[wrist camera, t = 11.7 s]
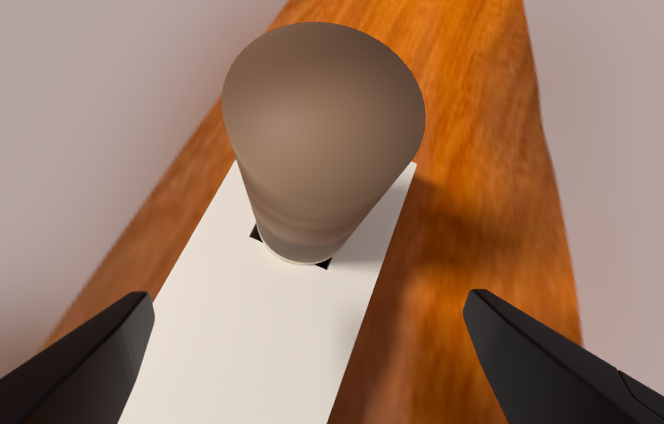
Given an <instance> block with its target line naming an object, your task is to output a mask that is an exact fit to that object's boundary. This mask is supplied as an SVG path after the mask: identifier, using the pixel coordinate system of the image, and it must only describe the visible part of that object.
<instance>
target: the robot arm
mask: <svg viewBox="0 0 664 424" xmlns="http://www.w3.org/2000/svg"><path fill="white" fill-rule="evenodd" d="M463 318H464V321H465V323H466V326H467V329H468V331H469V334H470V337H471V340H472V342H473V345H474V348H475V351H476V353H477V356H478V359H479V361H480V364H481V366H482V368H483V371H484V373H485V375H486V377H487V379H488V381H489V383H490V385H491V387H492V389H493V392H494V394H495V396H496V398H497V400H498V402H499V404H500V406H501V408H502V410H503V412H504V414H505V416H506V418H507V421H508V423H509V424H664V396H662V395H660V394H658V393H657V392H655V391H654V390H652V389H650V388H649V387H647V386H645V385H643V384H642V383H640V382H638V381H637V380H635V379H633V378H632V377H630V376H628V375H627V374H625V373H624V372H622V371H620V370H617V369H616V368H615V367H613V366H612V365H610V364H609V363H607V362H605V361H604V360H602V359H600V358H598V357H597V356H595V355H594V354H592V353H590V352H588V351H587V350H585V349H584V348H582V347H580V346H579V345H577V344H575V343H574V342H572V341H570V340H569V339H567V338H565V337H564V336H562V335H560V334H559V333H557V332H556V331H554V330H552V329H551V328H549V327H547V326H546V325H544V324H542V323H541V322H539V321H537V320H536V319H534V318H532V317H531V316H529V315H527V314H526V313H524V312H522V311H521V310H519V309H517V308H516V307H514V306H512V305H511V304H509V303H507V302H506V301H504V300H503V299H501V298H499V297H498V296H496V295H494V294H493V293H491V292H489V291H488V290H486V289H472V290H471V291H470V292H469V294H468V297H467V300H466V302H465V305H464V308H463ZM154 322H155V313H154V308H153V304H152V299H151V295H150V293H149V292H147V291H134V292H130V293H129V294H127V295H125V296H124V297H122V298H121V299H119V300H118V301H116V302H115V303H113V304H112V305H110V306H109V307H107V308H106V309H104V310H103V311H101V312H100V313H98V314H97V315H95V316H94V317H92V318H91V319H89V320H88V321H86V322H85V323H83V324H82V325H80V326H79V327H77V328H76V329H74V330H73V331H71V332H70V333H68V334H67V335H65V336H64V337H62V338H61V339H59V340H58V341H56V342H55V343H53V344H52V345H50V346H49V347H47V348H46V349H44V350H43V351H41V352H40V353H38V354H37V355H35V356H34V357H32V358H31V359H29V360H28V361H26V362H25V363H23V364H22V365H20V366H19V367H17V368H16V369H14V370H13V371H11V372H10V373H8V374H7V375H5V376H4V377H2V378H1V379H0V424H118V422H119V419H120V417H121V415H122V413H123V410H124V408H125V406H126V403H127V401H128V399H129V397H130V394H131V392H132V390H133V387H134V385H135V382H136V380H137V377H138V374H139V371H140V368H141V364H142V361H143V358H144V355H145V352H146V348H147V345H148V342H149V339H150V336H151V332H152V329H153V326H154Z"/></svg>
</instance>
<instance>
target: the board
mask: <svg viewBox="0 0 664 424" xmlns="http://www.w3.org/2000/svg"><path fill="white" fill-rule="evenodd" d="M416 166H417V164H416V163H413V162H410V164H409V165H408V166H407V167H406V169H405V170H404V171H403V172H402V174H401V175H400V176H399V177H398V178H397V180H396V181H395V182H394V183H393V185H392V186H391V187H390V188H389V189H388V191H387V192H386V193H385V194H384V195H383V197H382V198H381V199H380V200H379V202H378V203H377V204H376V205H375V206H374V208H373V209H372V210H371V211H370V213H369V214H368V215H367V216H366V217H365V219H364V220H363V221H362V222H361V223H360V225H359V226H358V227H357V228H356V230H355V231H354V232H353V233H352V234H351V236H350V237H349V238H348V240H347V241H346V243H345V244H344V246H343V247H342V248H341V249H340V250H339V251H338V252H337V253H336V254H335V255H334V256H332V257H331V258H329V259H328V262H327V264H326V267H325V269H323V268H321V267H318V266H316V265H296V264H292V263H288V262H286V261H283V260H281V259H280V258H278V257H276V256H275V255H274V254H273V253H271V252H270V251H269V249H268V248H267V247H266V246H265V244H264V243H263V242H260V241H258V239H259V237H260V235H259V232H258V229H257V224H256V220H255V216H254V213H253V210H252V207H251V204H250V201H249V198H248V195H247V192H246V188H245V185H244V182H243V179H242V176H241V173H240V170H239V167H238V164H237V160H235V162H234V163H233V165H232V167H231V169H230V170H229V172H228V174H227V176H226V177H225V179H224V181H223V183H222V184H221V186H220V188H219V189H218V191H217V193H216V195H215V196H214V198H213V200H212V202H211V203H210V205H209V207H208V209H207V210H206V212H205V214H204V216H203V217H202V219H201V221H200V222H199V224H198V226H197V228H196V229H195V231H194V233H193V235H192V236H191V238H190V240H189V242H188V243H187V245H186V247H185V248H184V250H183V252H182V254H181V255H180V257H179V259H178V261H177V262H176V264H175V266H174V268H173V269H172V271H171V273H170V275H169V276H168V278H167V280H166V281H165V283H164V285H163V287H162V288H161V290H160V292H159V294H158V295H157V297H156V299H155V301H154V302H153V308H154V313H155V322H154V326H153V329H152V332H151V336H150V339H149V342H148V345H147V348H146V352H145V355H144V358H143V361H142V364H141V368H140V371H139V374H138V377H137V380H136V382H135V385H134V387H133V390H132V392H131V394H130V397H129V399H128V401H127V403H126V406H125V408H124V410H123V413H122V415H121V417H120V419H119V422H118V424H327V421H328V418H329V415H330V412H331V410H332V407H333V404H334V401H335V398H336V395H337V392H338V390H339V387H340V384H341V381H342V378H343V375H344V372H345V369H346V367H347V364H348V361H349V358H350V355H351V352H352V349H353V346H354V344H355V341H356V338H357V335H358V332H359V329H360V326H361V324H362V321H363V318H364V315H365V312H366V309H367V306H368V303H369V301H370V298H371V295H372V292H373V289H374V286H375V283H376V280H377V278H378V275H379V272H380V269H381V266H382V263H383V260H384V258H385V255H386V252H387V249H388V246H389V243H390V240H391V237H392V235H393V232H394V229H395V226H396V223H397V220H398V217H399V214H400V212H401V209H402V206H403V203H404V200H405V197H406V194H407V192H408V189H409V186H410V183H411V180H412V177H413V174H414V171H415V169H416Z"/></svg>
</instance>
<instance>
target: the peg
mask: <svg viewBox="0 0 664 424" xmlns="http://www.w3.org/2000/svg"><path fill="white" fill-rule="evenodd" d="M222 113H223V118H224V123H225V126H226V129H227V132H228V135H229V139H230V142H231V145H232V148H233V151H234V154H235V157H236V160H237V164H238V167H239V170H240V173H241V176H242V179H243V182H244V185H245V188H246V192H247V195H248V198H249V201H250V204H251V207H252V210H253V213H254V216H255V220H256V224H257V229H258V232H259V235H260V237H261V239H262V241H263V243H264V244H265V246H266V247H267V248H268V249H269V251H270V252H271V253H273V254H274V255H275V256H276V257H278V258H280V259H281V260H283V261H286V262H288V263H292V264H296V265H314V264H318V263H321V262H323V261H326V260H328V259H329V258H331V257H332V256H334V255H335V254H336V253H337V252H338V251H339V250H340V249H341V248H342V247H343V246H344V244H345V243H346V241H347V240H348V238H349V237H350V236H351V234H352V233H353V232H354V231H355V230H356V228H357V227H358V226H359V225H360V223H361V222H362V221H363V220H364V219H365V217H366V216H367V215H368V214H369V213H370V211H371V210H372V209H373V208H374V206H375V205H376V204H377V203H378V202H379V200H380V199H381V198H382V197H383V195H384V194H385V193H386V192H387V191H388V189H389V188H390V187H391V186H392V185H393V183H394V182H395V181H396V180H397V178H398V177H399V176H400V175H401V174H402V172H403V171H404V170H405V169H406V167H407V166H408V165H409V164H410V162H411V161H412V160H413V158H414V157H415V155H416V153H417V151H418V149H419V147H420V144H421V141H422V139H423V134H424V129H425V106H424V101H423V97H422V93H421V91H420V88H419V86H418V83H417V81H416V80H415V78H414V76H413V74H412V73H411V71H410V70H409V68H408V67H407V66H406V64H405V63H404V62H403V61H402V60H401V59H400V58H399V57H398V55H396V54H395V53H394V52H393V51H392V50H391V49H390V48H389V47H387V46H386V45H384V44H383V43H381V42H380V41H379V40H377V39H375V38H373V37H372V36H370V35H368V34H366V33H363V32H361V31H359V30H356V29H353V28H350V27H347V26H343V25H338V24H333V23H325V22H305V23H296V24H291V25H286V26H283V27H280V28H277V29H274V30H272V31H270V32H268V33H265V34H263V35H262V36H260V37H259V38H257V39H256V40H254V41H253V42H252V43H250V44H249V45H248V46H247V47H246V48H245V49H244V50H243V51H242V52H241V53H240V54H239V55H238V56H237V58H236V59H235V61H234V62H233V64H232V65H231V67H230V69H229V72H228V74H227V76H226V79H225V83H224V86H223V92H222Z"/></svg>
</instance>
